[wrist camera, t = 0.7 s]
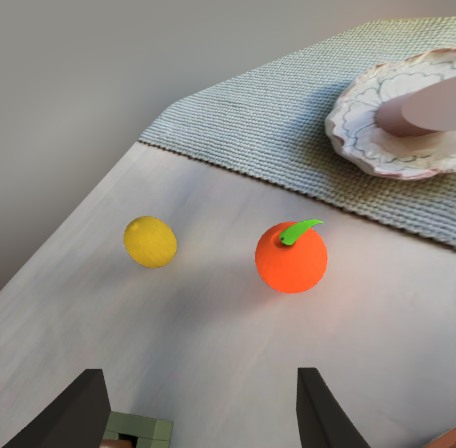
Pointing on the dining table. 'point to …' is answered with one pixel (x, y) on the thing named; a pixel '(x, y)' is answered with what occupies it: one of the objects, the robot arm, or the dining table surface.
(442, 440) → the bowl
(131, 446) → the stick
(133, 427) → the holder
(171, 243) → the lemon
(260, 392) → the dining table surface
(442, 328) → the dining table surface
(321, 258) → the clementine
